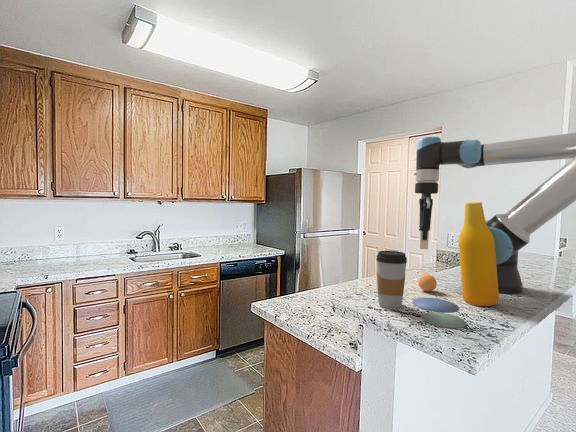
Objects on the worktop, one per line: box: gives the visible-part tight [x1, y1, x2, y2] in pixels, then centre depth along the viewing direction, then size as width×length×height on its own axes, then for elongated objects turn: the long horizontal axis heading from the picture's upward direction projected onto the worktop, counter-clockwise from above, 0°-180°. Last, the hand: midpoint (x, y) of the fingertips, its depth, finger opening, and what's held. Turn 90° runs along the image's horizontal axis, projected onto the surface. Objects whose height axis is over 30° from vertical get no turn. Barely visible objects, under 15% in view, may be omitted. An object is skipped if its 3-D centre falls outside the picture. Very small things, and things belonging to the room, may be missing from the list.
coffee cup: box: [375, 250, 408, 310], centre depth 90 cm, size 8×8×15 cm
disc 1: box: [412, 297, 459, 313], centre depth 91 cm, size 12×12×1 cm
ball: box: [418, 274, 437, 293], centre depth 105 cm, size 6×6×6 cm
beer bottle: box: [458, 201, 500, 307], centre depth 93 cm, size 9×9×29 cm
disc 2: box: [421, 311, 467, 329], centre depth 80 cm, size 10×10×1 cm
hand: (423, 248), depth 114 cm, fingers closed
